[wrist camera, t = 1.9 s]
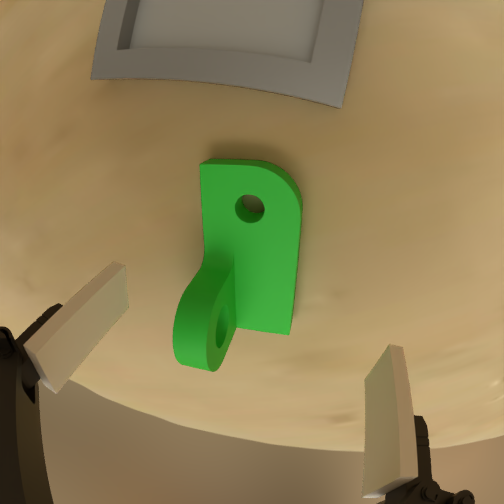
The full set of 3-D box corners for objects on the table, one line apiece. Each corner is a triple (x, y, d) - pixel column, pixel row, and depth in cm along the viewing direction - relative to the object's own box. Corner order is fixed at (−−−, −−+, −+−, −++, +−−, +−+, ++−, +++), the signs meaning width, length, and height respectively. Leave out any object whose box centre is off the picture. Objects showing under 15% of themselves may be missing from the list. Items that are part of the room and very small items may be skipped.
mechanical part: (292, 318, 23) (275, 401, 16) (219, 307, 24) (181, 381, 17) (305, 162, 17) (293, 203, 10) (211, 158, 18) (145, 193, 11)
